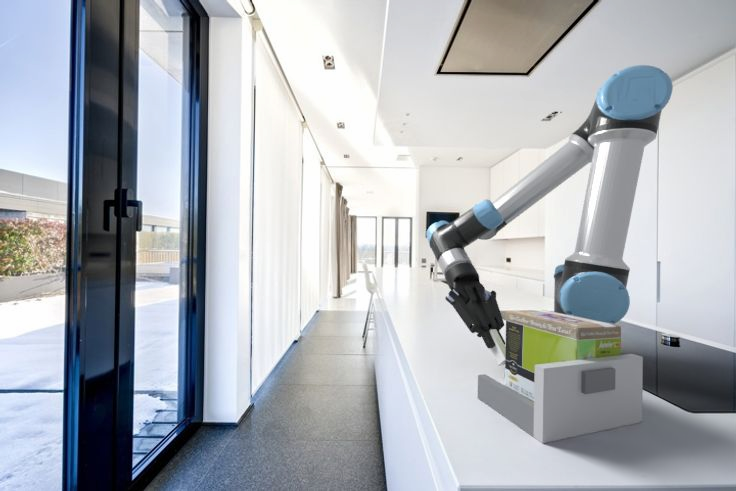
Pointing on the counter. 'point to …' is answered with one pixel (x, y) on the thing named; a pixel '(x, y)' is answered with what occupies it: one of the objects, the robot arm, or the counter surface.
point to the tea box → (552, 343)
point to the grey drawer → (572, 397)
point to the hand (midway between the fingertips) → (504, 362)
